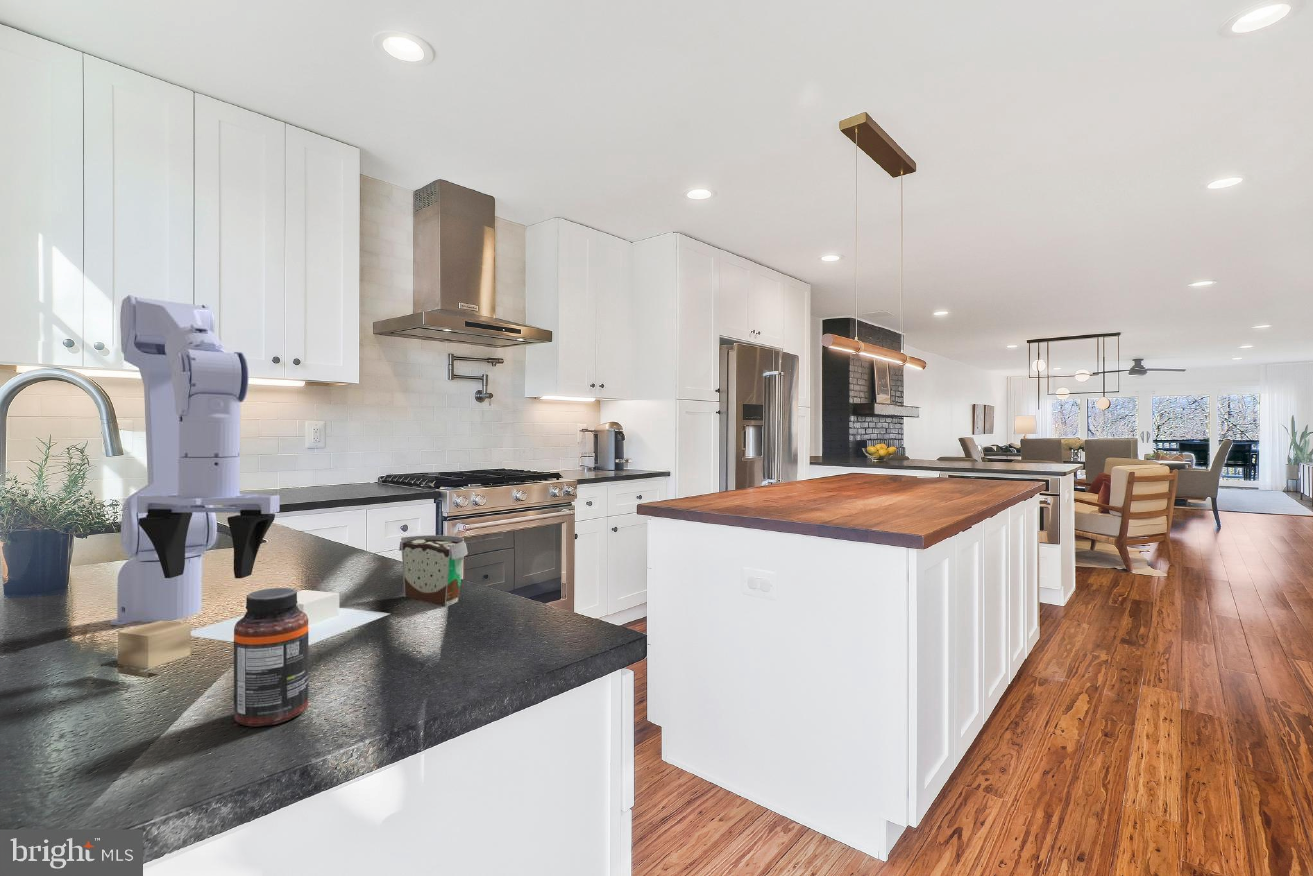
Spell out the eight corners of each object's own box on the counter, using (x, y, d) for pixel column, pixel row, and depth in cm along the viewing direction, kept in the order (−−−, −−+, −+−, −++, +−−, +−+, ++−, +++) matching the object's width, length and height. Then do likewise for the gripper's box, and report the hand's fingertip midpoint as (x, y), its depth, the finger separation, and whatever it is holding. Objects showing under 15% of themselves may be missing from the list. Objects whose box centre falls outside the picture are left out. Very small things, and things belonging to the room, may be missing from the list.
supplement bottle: (255, 702, 61) (256, 584, 61) (319, 700, 62) (321, 584, 62) (218, 730, 55) (219, 600, 55) (289, 728, 56) (290, 600, 56)
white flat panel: (178, 642, 78) (178, 634, 78) (288, 609, 94) (288, 602, 94) (294, 659, 73) (294, 650, 73) (390, 620, 88) (390, 613, 88)
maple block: (117, 674, 68) (118, 632, 68) (161, 659, 73) (161, 620, 73) (148, 679, 67) (148, 636, 67) (190, 664, 71) (190, 624, 71)
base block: (266, 623, 83) (266, 600, 83) (304, 611, 89) (304, 589, 89) (303, 627, 81) (303, 604, 81) (339, 615, 87) (339, 593, 87)
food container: (484, 605, 97) (485, 539, 97) (452, 614, 92) (452, 545, 92) (431, 593, 104) (432, 532, 103) (398, 602, 98) (399, 537, 98)
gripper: (115, 457, 68) (114, 584, 68) (255, 458, 69) (253, 584, 69) (163, 455, 75) (162, 570, 75) (289, 456, 76) (288, 570, 76)
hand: (208, 576), depth 72 cm, fingers open, 7 cm apart
